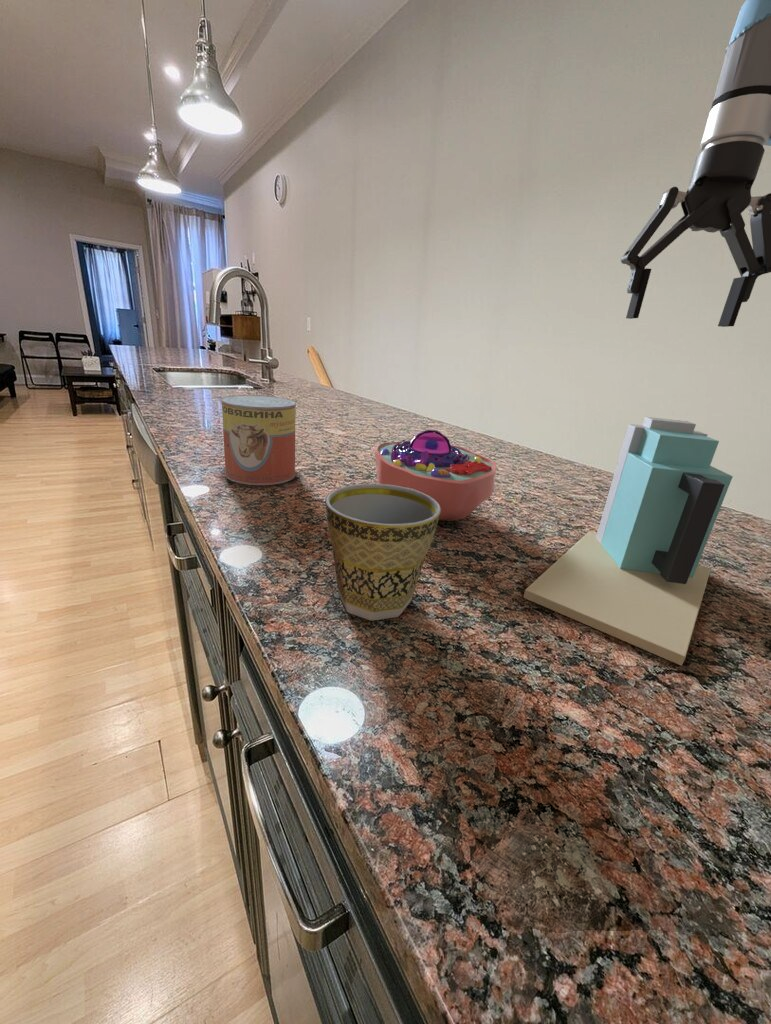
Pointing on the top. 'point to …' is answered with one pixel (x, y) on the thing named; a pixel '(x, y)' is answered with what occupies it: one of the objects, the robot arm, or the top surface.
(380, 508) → the ceramic cup
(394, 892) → the top surface
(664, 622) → the mat
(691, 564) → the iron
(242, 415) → the canned food
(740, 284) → the robot arm
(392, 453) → the cell model
